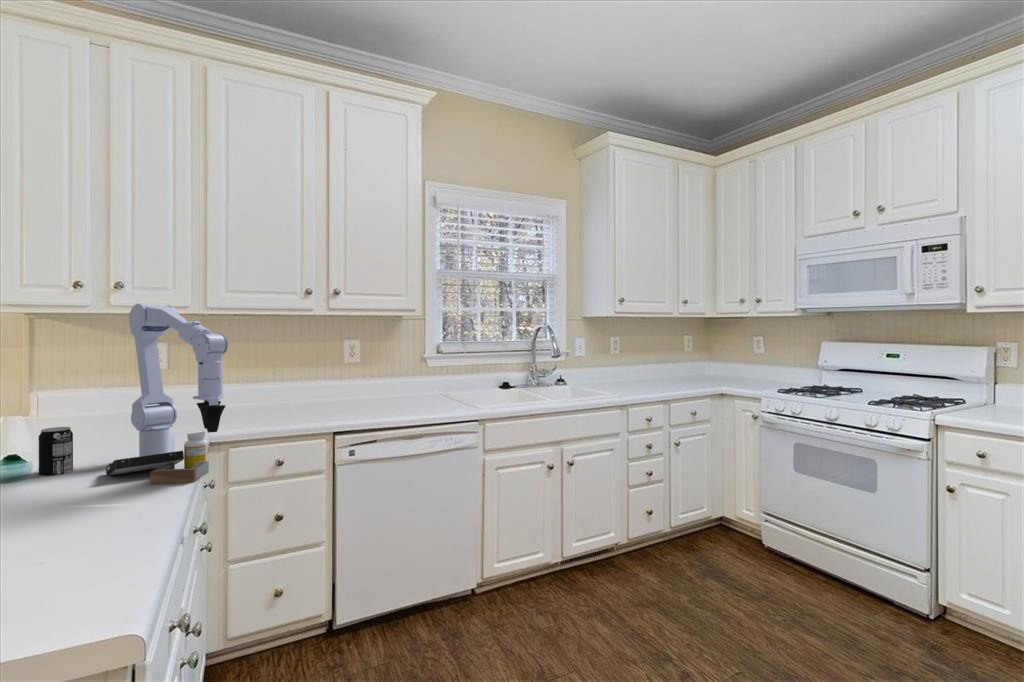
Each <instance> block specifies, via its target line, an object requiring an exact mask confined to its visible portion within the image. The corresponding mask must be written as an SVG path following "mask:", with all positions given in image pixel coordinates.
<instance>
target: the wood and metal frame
mask: <svg viewBox="0 0 1024 682" xmlns="http://www.w3.org/2000/svg"><path fill="white" fill-rule="evenodd" d="M209 467H210V466H209V460H208V461H202V462H200V463H198V464H197V465H195V466H193V467H192V468H190V469H184V468H175V462H173V463H167V464H165V465H163V466H161V467H159V468H157V469H152V470H151V471H150V476H149V477H150V478H149V479H150V482H149V484H150V485H161V484H163V485H164V484H182V483H196V481H199V479H201V478H203V477H204V476H206V475H207V474H209V472H210V470H209Z"/></svg>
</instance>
